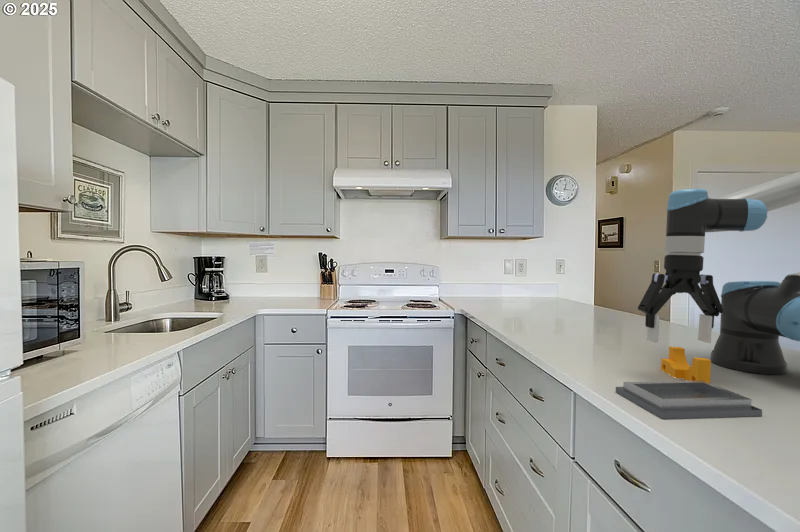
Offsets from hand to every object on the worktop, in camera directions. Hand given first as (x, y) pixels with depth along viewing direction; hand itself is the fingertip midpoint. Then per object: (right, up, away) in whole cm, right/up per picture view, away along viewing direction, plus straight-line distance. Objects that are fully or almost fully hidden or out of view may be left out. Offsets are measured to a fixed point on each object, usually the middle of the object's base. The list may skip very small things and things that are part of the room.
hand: (678, 341), depth 90 cm
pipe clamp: (+1, -9, 0) cm, 10 cm away
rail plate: (-10, -10, -15) cm, 21 cm away
